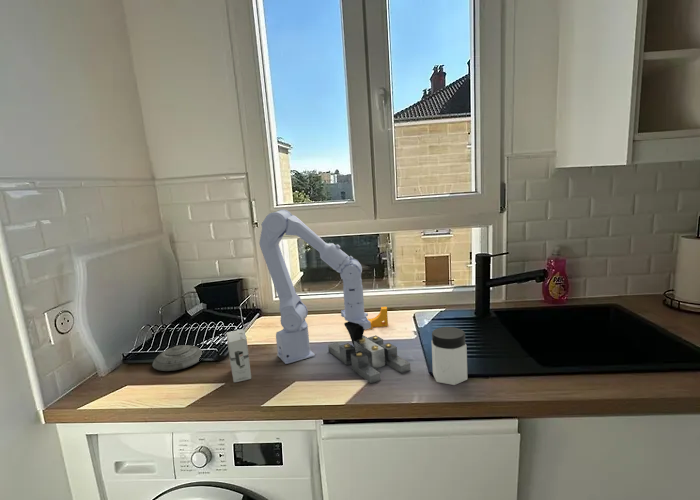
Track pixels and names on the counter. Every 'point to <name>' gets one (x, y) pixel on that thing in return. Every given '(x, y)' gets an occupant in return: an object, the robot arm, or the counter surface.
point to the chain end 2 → (371, 374)
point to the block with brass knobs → (371, 352)
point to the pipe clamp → (380, 319)
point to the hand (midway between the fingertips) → (357, 345)
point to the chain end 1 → (349, 349)
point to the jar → (449, 355)
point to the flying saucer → (177, 358)
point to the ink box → (238, 355)
